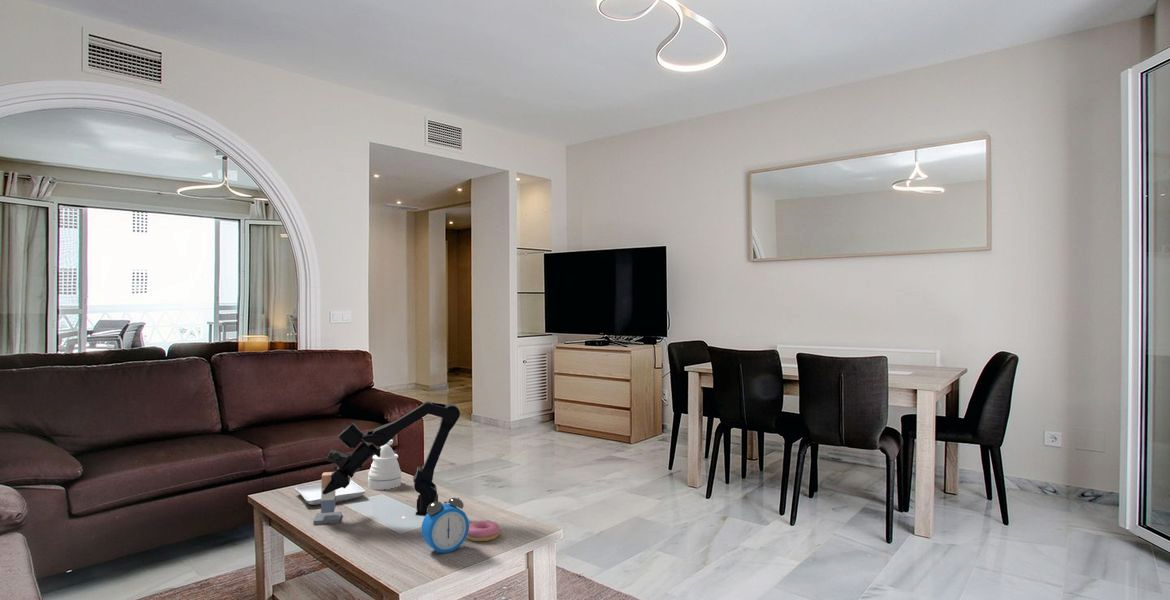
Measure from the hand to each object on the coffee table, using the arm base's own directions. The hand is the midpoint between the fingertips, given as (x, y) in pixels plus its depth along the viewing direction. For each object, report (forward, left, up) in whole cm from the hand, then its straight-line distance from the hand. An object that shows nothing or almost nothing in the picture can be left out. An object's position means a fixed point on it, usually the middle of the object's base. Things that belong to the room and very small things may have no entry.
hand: (324, 491), depth 212 cm
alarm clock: (-51, +14, -10) cm, 53 cm away
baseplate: (-1, -1, -10) cm, 10 cm away
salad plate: (+13, -24, -10) cm, 29 cm away
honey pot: (+1, -43, -10) cm, 44 cm away
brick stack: (-1, -1, -7) cm, 7 cm away
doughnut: (-58, +1, -10) cm, 58 cm away
